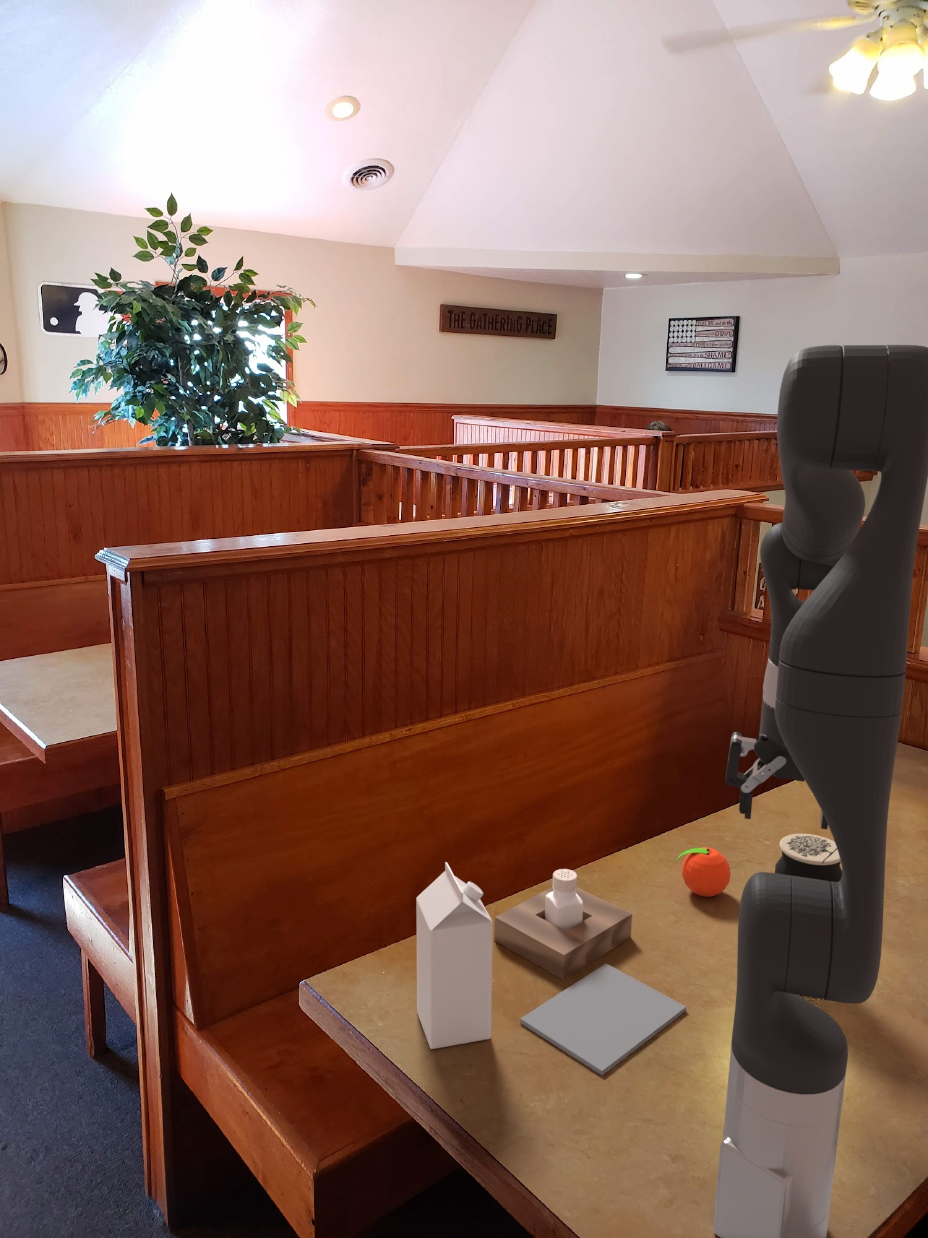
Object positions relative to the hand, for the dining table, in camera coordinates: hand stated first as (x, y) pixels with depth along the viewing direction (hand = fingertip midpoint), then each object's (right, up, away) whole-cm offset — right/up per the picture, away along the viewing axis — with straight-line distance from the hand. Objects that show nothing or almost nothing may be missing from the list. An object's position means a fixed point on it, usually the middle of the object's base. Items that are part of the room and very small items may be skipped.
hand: (785, 820), depth 113 cm
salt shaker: (-25, -19, +15) cm, 35 cm away
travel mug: (+4, -22, +7) cm, 23 cm away
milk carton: (-39, -24, -2) cm, 46 cm away
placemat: (-21, -23, 0) cm, 32 cm away
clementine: (-3, -17, +27) cm, 32 cm away
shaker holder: (-25, -19, +15) cm, 35 cm away
